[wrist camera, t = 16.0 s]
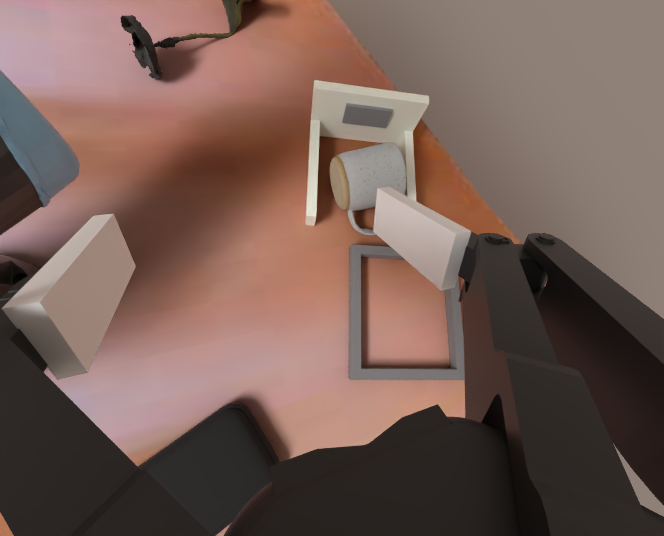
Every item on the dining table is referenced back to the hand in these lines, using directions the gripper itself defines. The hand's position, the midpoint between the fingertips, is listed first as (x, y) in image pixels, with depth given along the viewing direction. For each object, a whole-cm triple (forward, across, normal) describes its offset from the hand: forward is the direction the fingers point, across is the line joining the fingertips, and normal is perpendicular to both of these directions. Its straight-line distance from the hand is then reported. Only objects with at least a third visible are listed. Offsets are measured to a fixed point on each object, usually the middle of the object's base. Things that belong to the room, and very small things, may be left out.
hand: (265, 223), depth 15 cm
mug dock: (+23, +16, -5) cm, 28 cm away
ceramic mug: (+21, +16, -7) cm, 27 cm away
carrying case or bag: (+3, -9, -29) cm, 31 cm away
